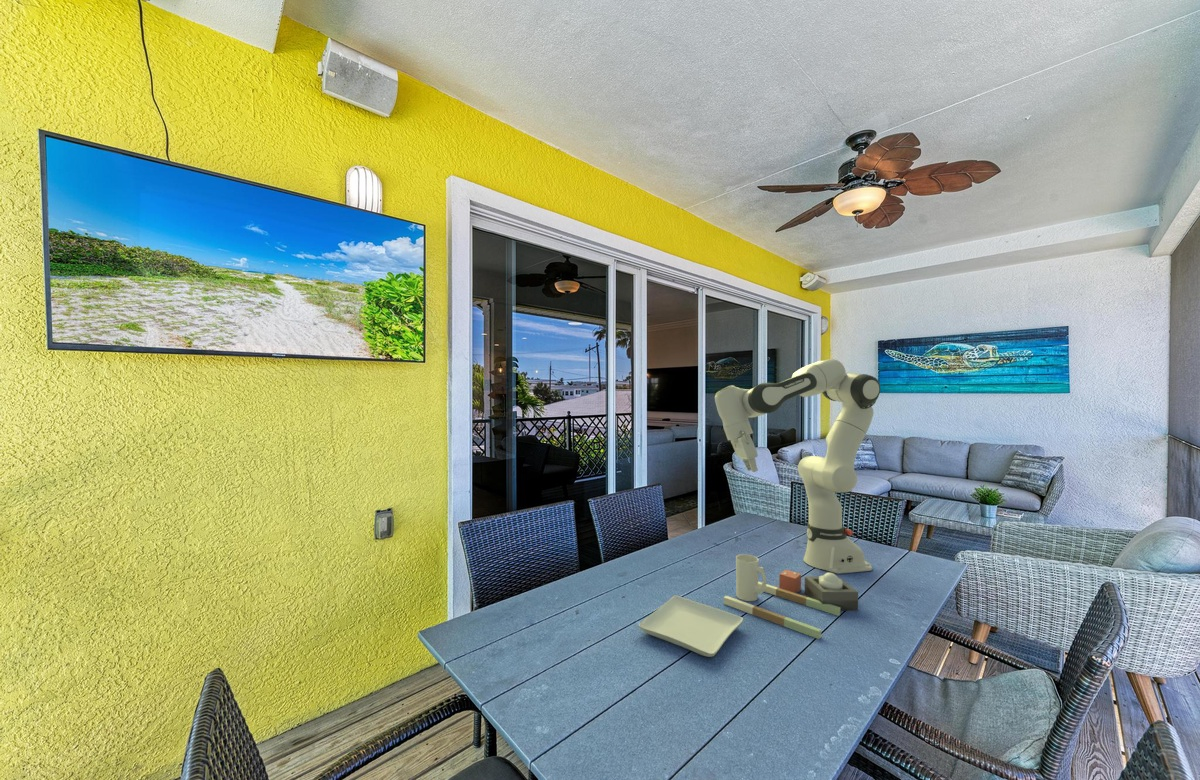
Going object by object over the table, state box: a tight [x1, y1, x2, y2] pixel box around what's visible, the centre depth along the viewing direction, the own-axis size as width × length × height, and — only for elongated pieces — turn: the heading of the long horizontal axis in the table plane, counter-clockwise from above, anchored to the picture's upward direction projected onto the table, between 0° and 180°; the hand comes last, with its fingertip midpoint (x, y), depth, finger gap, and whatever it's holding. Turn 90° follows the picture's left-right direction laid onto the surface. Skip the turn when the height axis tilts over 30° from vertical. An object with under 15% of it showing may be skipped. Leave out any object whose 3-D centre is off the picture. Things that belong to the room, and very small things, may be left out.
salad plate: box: [638, 595, 744, 658], centre depth 119 cm, size 21×21×3 cm
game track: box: [723, 581, 841, 640], centre depth 132 cm, size 27×18×2 cm, turn 46°
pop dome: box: [818, 572, 843, 589], centre depth 136 cm, size 6×6×4 cm
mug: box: [735, 553, 767, 602], centre depth 138 cm, size 10×7×12 cm, turn 35°
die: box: [778, 569, 802, 594], centre depth 145 cm, size 5×5×5 cm
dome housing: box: [804, 576, 859, 612], centre depth 136 cm, size 11×11×6 cm
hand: (752, 470), depth 153 cm, fingers open, 8 cm apart
